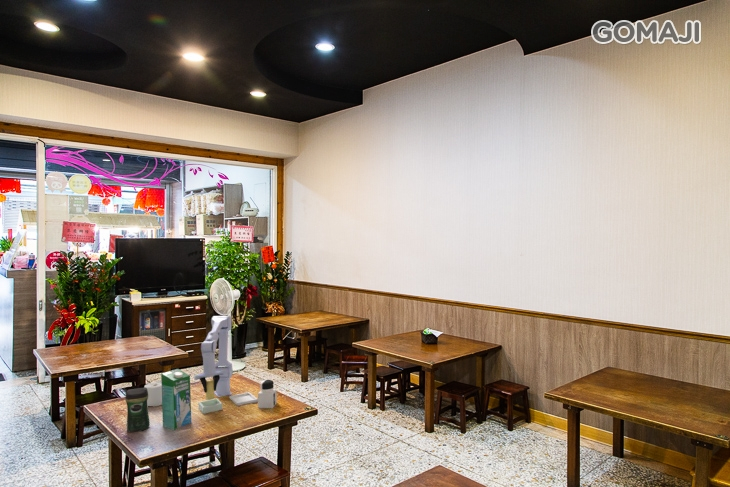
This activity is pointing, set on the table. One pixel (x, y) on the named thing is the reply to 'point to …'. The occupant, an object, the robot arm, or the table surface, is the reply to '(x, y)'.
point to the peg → (210, 389)
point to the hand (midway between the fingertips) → (210, 391)
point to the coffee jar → (137, 409)
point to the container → (267, 395)
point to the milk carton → (176, 399)
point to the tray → (243, 398)
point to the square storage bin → (210, 406)
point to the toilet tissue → (154, 393)
